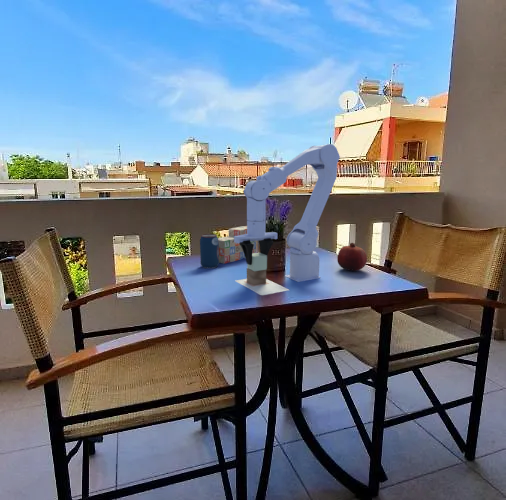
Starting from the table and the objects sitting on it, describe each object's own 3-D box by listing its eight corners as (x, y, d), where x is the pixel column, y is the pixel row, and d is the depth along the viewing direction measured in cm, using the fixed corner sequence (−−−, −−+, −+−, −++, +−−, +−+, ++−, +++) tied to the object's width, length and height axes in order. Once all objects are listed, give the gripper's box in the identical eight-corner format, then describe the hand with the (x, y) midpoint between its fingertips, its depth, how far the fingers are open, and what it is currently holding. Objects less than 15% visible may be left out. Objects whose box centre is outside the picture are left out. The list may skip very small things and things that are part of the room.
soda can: (222, 267, 140) (221, 235, 137) (206, 269, 136) (205, 237, 134) (213, 263, 146) (212, 233, 143) (197, 265, 142) (196, 234, 139)
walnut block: (258, 279, 122) (258, 266, 121) (266, 283, 118) (266, 269, 117) (246, 281, 120) (246, 268, 119) (253, 285, 116) (253, 271, 115)
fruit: (331, 268, 138) (332, 241, 136) (354, 265, 141) (356, 239, 139) (347, 275, 128) (348, 247, 126) (371, 273, 131) (373, 245, 129)
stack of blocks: (224, 264, 145) (224, 233, 142) (213, 262, 148) (212, 231, 146) (258, 254, 161) (258, 226, 158) (247, 252, 165) (247, 225, 162)
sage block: (259, 266, 120) (259, 252, 120) (266, 269, 117) (266, 255, 116) (247, 267, 118) (247, 254, 117) (254, 271, 114) (254, 257, 114)
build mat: (260, 277, 126) (260, 276, 126) (290, 291, 112) (290, 289, 112) (234, 281, 121) (234, 280, 121) (261, 296, 107) (261, 295, 107)
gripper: (269, 217, 122) (269, 258, 124) (229, 220, 115) (230, 263, 117) (281, 219, 116) (280, 262, 118) (240, 223, 109) (240, 268, 111)
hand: (256, 263), depth 118 cm, fingers closed on sage block, 4 cm apart
